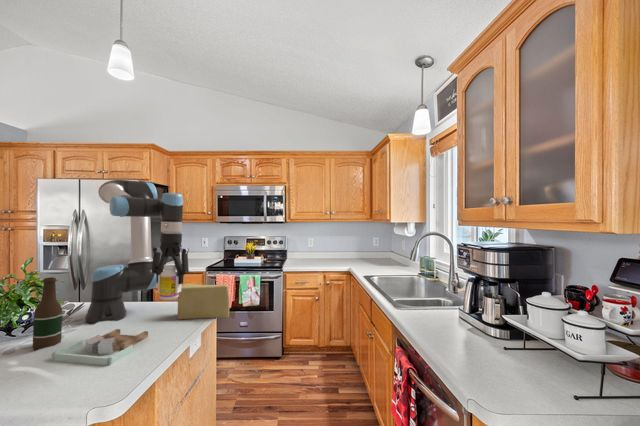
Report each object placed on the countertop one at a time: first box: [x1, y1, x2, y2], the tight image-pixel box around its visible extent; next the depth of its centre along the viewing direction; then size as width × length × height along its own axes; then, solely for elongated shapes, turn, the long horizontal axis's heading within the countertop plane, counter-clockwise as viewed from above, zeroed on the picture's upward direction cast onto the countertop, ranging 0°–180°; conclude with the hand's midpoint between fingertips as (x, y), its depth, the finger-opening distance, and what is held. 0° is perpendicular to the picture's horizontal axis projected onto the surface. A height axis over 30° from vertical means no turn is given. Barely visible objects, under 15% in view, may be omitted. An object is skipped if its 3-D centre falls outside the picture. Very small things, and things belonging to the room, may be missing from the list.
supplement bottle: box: [159, 263, 179, 301], centre depth 119 cm, size 7×7×13 cm
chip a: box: [84, 334, 105, 354], centre depth 103 cm, size 4×4×4 cm
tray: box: [51, 340, 134, 366], centre depth 99 cm, size 10×20×3 cm, turn 83°
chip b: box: [97, 337, 116, 356], centre depth 102 cm, size 4×4×4 cm
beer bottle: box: [32, 276, 63, 352], centre depth 107 cm, size 8×8×24 cm
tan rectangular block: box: [176, 283, 230, 320], centre depth 143 cm, size 22×10×15 cm, turn 93°
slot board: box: [101, 328, 149, 351], centre depth 110 cm, size 12×13×3 cm
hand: (169, 291), depth 119 cm, fingers closed on supplement bottle, 7 cm apart
